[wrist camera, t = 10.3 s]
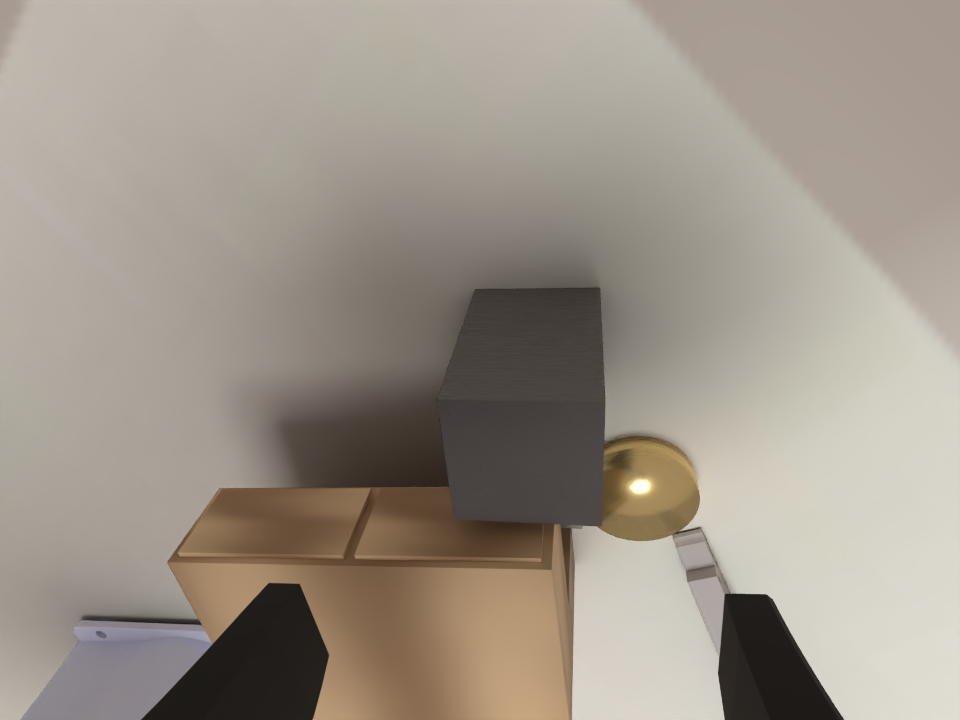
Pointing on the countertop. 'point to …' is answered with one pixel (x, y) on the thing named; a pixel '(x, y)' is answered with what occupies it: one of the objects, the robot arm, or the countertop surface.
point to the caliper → (703, 580)
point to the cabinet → (398, 597)
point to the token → (647, 489)
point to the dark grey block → (526, 408)
